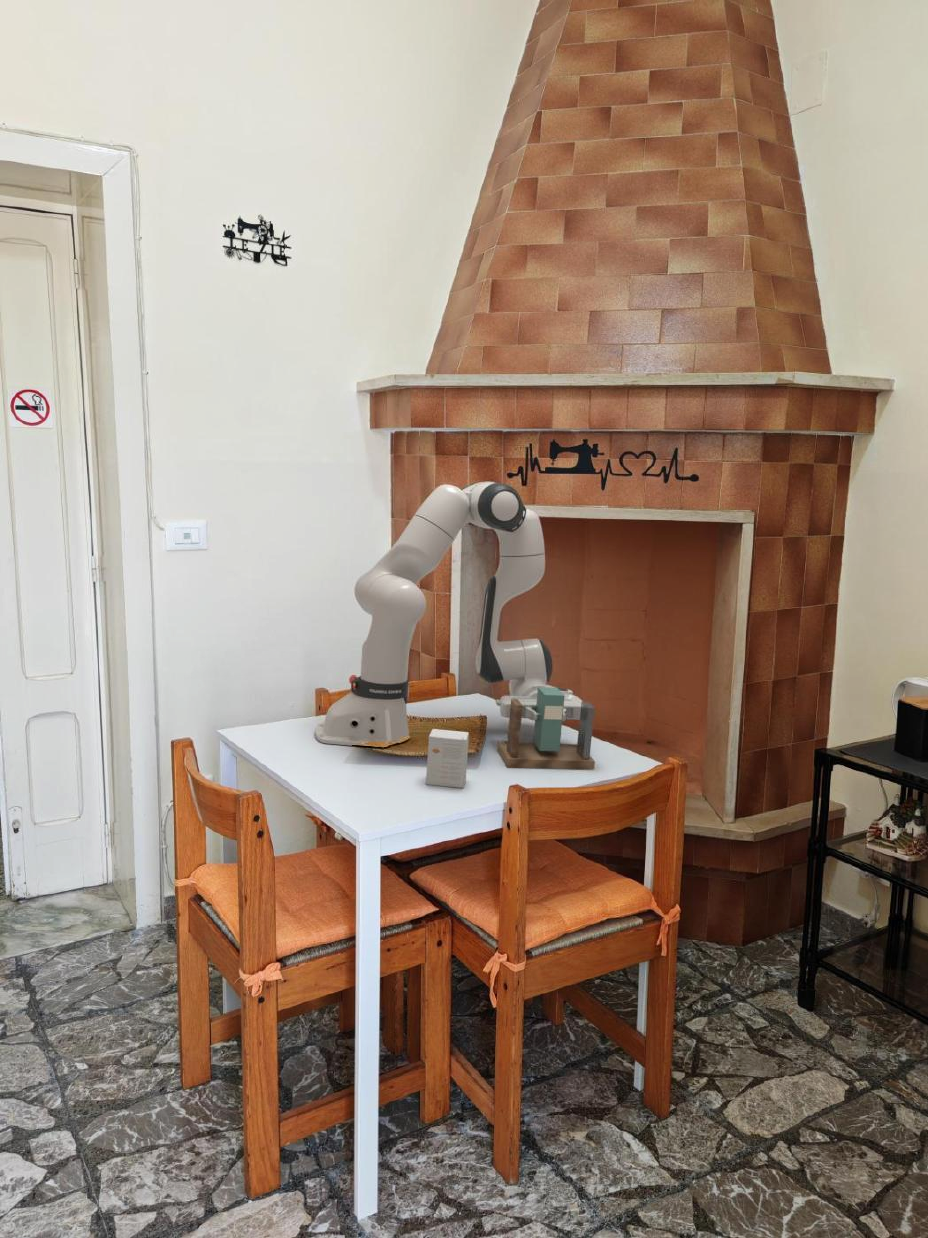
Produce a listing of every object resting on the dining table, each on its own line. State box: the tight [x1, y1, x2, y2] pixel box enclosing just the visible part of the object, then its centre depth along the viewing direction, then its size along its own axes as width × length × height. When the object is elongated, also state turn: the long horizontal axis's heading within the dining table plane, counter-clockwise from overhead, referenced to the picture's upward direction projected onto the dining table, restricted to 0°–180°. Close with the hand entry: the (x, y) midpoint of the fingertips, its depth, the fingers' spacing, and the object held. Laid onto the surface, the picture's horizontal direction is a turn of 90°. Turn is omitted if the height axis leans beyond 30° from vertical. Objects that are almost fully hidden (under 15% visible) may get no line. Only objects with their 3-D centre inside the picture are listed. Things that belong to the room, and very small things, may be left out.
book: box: [532, 686, 565, 751], centre depth 211 cm, size 4×7×13 cm, turn 8°
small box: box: [425, 728, 470, 789], centre depth 192 cm, size 8×6×10 cm
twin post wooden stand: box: [496, 699, 596, 770], centre depth 211 cm, size 20×12×14 cm, turn 98°
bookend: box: [576, 701, 595, 760], centre depth 210 cm, size 2×6×12 cm, turn 9°
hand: (549, 717), depth 210 cm, fingers closed on book, 4 cm apart
